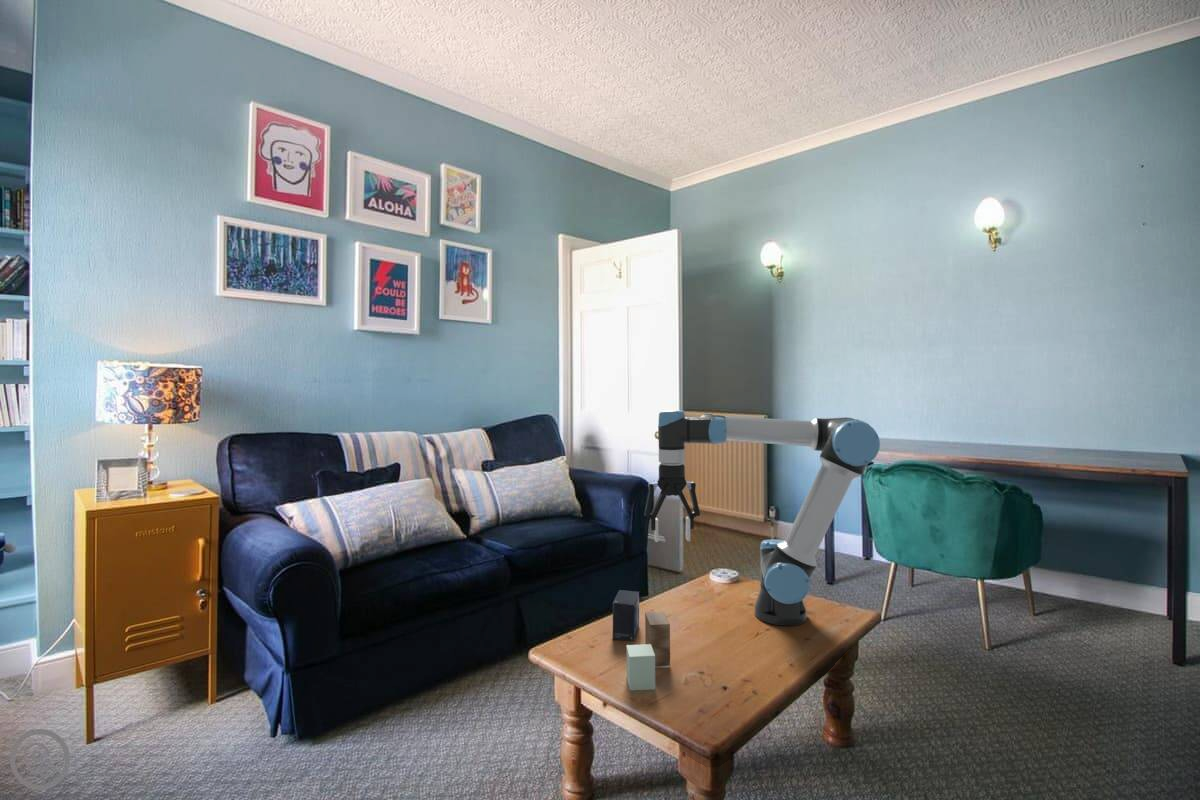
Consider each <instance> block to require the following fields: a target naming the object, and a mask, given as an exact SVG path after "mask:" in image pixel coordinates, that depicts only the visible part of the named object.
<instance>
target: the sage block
mask: <svg viewBox="0 0 1200 800" xmlns="http://www.w3.org/2000/svg"><path fill="white" fill-rule="evenodd" d="M625 647H626V680H627V683H628V688H629V691H648V690H649V691H650V690H656V668H655V654H654V651H653V649H652V646H651V644H645V643H644V644H643V643H641V644H626V646H625Z"/></svg>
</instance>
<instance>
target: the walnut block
mask: <svg viewBox="0 0 1200 800" xmlns="http://www.w3.org/2000/svg"><path fill="white" fill-rule="evenodd" d="M644 613H645V614H644V616H645V618H644V620H645V622H644V626H645V627H644V629H645V630H644V631H645V643H644V644H651V646H652V649H653V651H654V654H655V669H658V668H659V669H660V668H662V669H663V668H671V623H670V622H669V619H668V617H667V615H666V613H665V611H646V612H644Z"/></svg>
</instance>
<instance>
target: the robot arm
mask: <svg viewBox="0 0 1200 800" xmlns="http://www.w3.org/2000/svg"><path fill="white" fill-rule="evenodd" d="M657 428H658V433H657V434H658V463H660V464H658V479H657V482H648V483H647V486H648V493H647V498H646V501H645V507H644V508H645V509H644V512H643V513H644V514H643V516H645V517H646V518H648V519H649V520H650V530H651V531H654V533H653V537H654V538H653V539H654V540H653V541H654V542H655V543H659V519H658V517H657V515H658V514H659V512H660V509H661V508H662V505H663V503H664V501H665V500H666V498H667V497H671V496H676V497H677V496H678V497H679V499H680V501H681V504H682V506H683V508H684V510H685V511H686V513H687V516H685V540H686V542H691V530H693V529H694V526H695V525H694V522H695V521H694V519H695V518H697V517H699V516H700V515H701V511H700V507H699V503H698V498H697V495H696V494H697V493H696V485H697V484H696V483H695V482H694V481H687V480H686V477H685V476H686V472H685V471H686V469H685V468H686V465H685V462H686V456H685V455H686V454H685V453H686V452H685V450H686V449H685V444H712V445H716V444H725V443H726V442H727V441H732V442H742V443H744V442H745V443H756V444H773V445H783V446H793V447H794V446H798V447H809V448H811V449H812V451H816V452H817V451H819V452H821V453H820V455H819V459H820V461H821V466H820V467H819V470H818V472H817V474H816V477H814V478H815V479H814V481H813V483H812V485H811V486H810V488H809V491H808V493H807V495H806V497H805V499H804V502H803V503H802V505H801V506H800V510H799V511H798V513H797V516H796V518H795V519H794V522H793V524H792V525H791V528H790V530H789V532H788V534H787V536H786V537H785V539H773V538H772V539H771V538H770V539H764V540H762V541H761V542H760V548H759V551H760V589H759V593H758V595H757V597H756V601H755V604H754V616H755V617H756V618H757V619H759V620H760V621H762V622H764V623H768V624H771V625H775V626H786V627H787V626H788V627H790V626H797V625H801V624H804V623H805V622H806V621H807V618H808V617H807V615H808V614H807V609H806V605H805V603H804V599H805V598H806V597H807V595H808V594H809V592H810V589H811V588H810V587H811V581H810V580H811V577H812V575H813V574H814V571H815V569H816V567H817V565H818V563H817V559H816V554H817V552H818V551H819V548H820V546H821V543H822V542H823V540H824V538H825V536H826V534H827V532H828V530H829V528H830V525H831V524H832V523H833V520H834V517H835V516H836V514H837V511H838V510H839V507H840V505H841V503H842V502H843V500H844V497H845V496H846V493H847V491H848V490H849V488H850V486H851V483H852V481H853V479H857V478H859V477H861V476H862V475H863V473H864V471H865V469H866V468H867V465H868V464H870V463H871V462H873V460H875V458H876V457H877V455H878V454H879V452H880V449H881V447H880V446H881V441H880V440H881V439H880V438H879V434H878V433H877V431H876V430H875V429H874V428H873V426H871V425H870V424H869V423H868V422H865V421H863V420H859V419H855V418H852V417H835V418H831V417H830V418H829V417H828V418H820V417H819V418H818V417H815V418H813V419H812V420H799V419H796V420H794V419H781V418H780V419H779V418H766V417H765V418H764V417H751V416H750V417H749V416H734V415H733V416H732V415H720V414H719V415H718V414H712V413H704V414H702V415H699V417H692V416H691V417H690V416H686V415H685V411H684V410H681V409H680V410H679V409H669V410H668V409H665V410H661V411H660V412H659V414H658V426H657ZM657 487H658V488H659V489H660V492H659V496H658V498H657V500H656V502H655V504H654V506H653V500H654V494H655V491H656V490H657ZM686 487H687V489H688V491H689V495H690V501H691V504H692V506H691V507H692V509H693V510H692V509H691V507H690V505H689V503H688V501H687V499H686V497H685V494H684V492H683V491H684V489H685V488H686ZM652 506H653V508H652ZM651 510H652V511H651Z"/></svg>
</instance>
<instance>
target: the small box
mask: <svg viewBox="0 0 1200 800" xmlns="http://www.w3.org/2000/svg"><path fill="white" fill-rule="evenodd" d="M639 625H640V591H635V590H633V591H632V590H624V589H623V590H622V589H619V590H618V592H617V594H616V595H615V598H614V599H613V601H612V640H621V641H631V642H632V641H635V638H636V635H637V632H638V630H639Z"/></svg>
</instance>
